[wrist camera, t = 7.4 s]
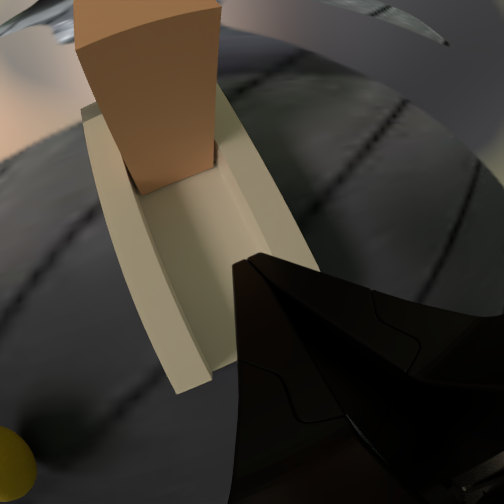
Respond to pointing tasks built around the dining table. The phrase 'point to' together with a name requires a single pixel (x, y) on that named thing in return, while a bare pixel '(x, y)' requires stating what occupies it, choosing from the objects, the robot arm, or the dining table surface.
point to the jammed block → (153, 81)
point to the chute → (192, 242)
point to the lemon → (15, 466)
